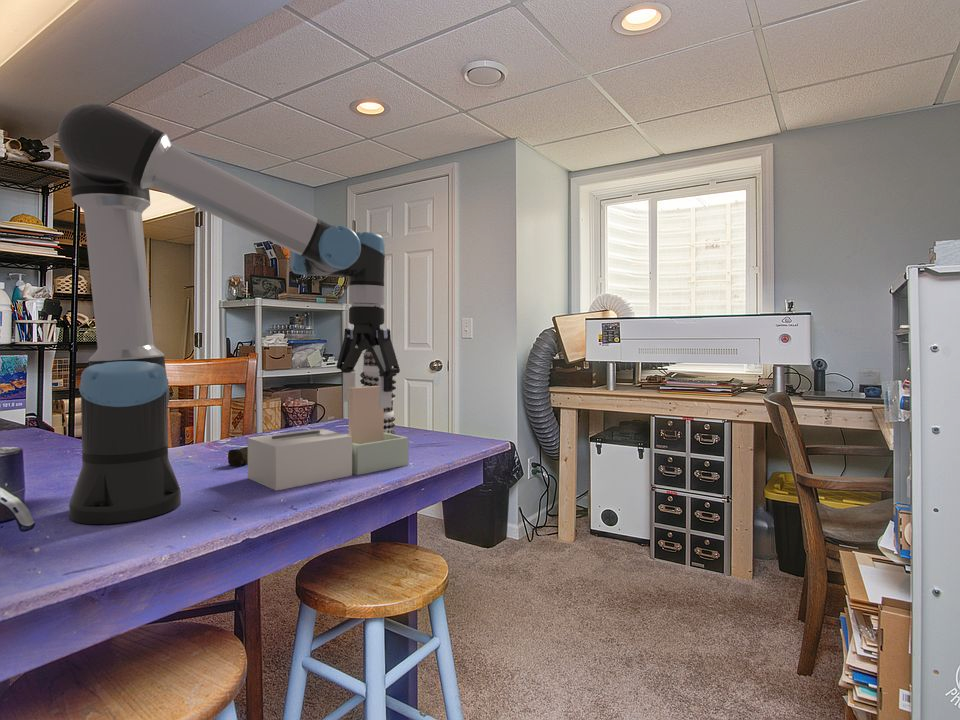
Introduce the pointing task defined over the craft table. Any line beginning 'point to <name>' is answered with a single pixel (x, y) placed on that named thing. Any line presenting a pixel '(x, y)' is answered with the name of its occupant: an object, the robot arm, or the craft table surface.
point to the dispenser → (299, 458)
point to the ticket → (365, 415)
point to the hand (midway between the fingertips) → (366, 404)
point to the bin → (380, 454)
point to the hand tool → (238, 457)
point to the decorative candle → (372, 379)
